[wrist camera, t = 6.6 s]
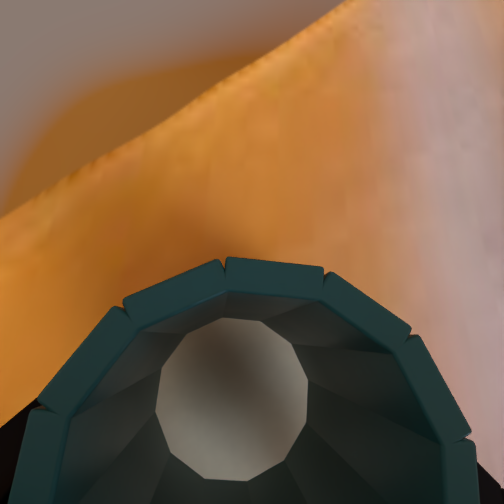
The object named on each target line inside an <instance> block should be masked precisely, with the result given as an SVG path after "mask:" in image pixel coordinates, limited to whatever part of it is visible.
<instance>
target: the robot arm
mask: <svg viewBox="0 0 504 504" xmlns="http://www.w3.org/2000/svg"><path fill="white" fill-rule="evenodd" d="M37 398H38V397H37ZM37 398H36V399H35V400H33V401H32V402H31V403H30V404H29V405H27V406H26V407H25V408H24V409H23V410H21V411H20V412H19V413H18V414H17V415H15V416H14V417H13V418H12V419H11V420H9V421H8V422H7V423H6V424H5V425H3V426H2V427H1V428H0V504H8V500H9V495H10V491H11V487H12V483H13V479H14V475H15V470H16V466H17V462H18V458H19V454H20V449H21V445H22V441H23V437H24V433H25V429H26V424H27V420H28V416H29V413H30V411H31V410H32V409H34V408H37V407H39V406H42V404H40V403H39V402H38V401H37ZM477 470H478V483H479V496H480V504H504V489H503V488H501V486H500V485H499V483H498V482H497V481H496V480H495V479H494V478H493V477H492V476H491V475H490V474H489V473H488V472H487V471H486V470H485V469H484V468H483V467H482V466H481V465H480V464H479V463H478V462H477Z"/></svg>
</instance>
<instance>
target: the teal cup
mask: <svg viewBox="0 0 504 504" xmlns="http://www.w3.org/2000/svg"><path fill="white" fill-rule="evenodd" d="M123 306H124V308H122V307H118V306H113V307H111V309H110V310H109V311H108V312H107V313H106V315H105V316H104V317H103V318H102V319H101V321H100V322H99V323H98V324H97V325H96V327H95V328H94V329H93V330H92V331H91V333H90V334H89V335H88V336H87V338H86V339H85V340H84V341H83V342H82V344H81V345H80V346H79V347H78V348H77V350H76V351H75V352H74V353H73V354H72V356H71V357H70V358H69V359H68V360H67V362H66V363H65V364H64V365H63V366H62V368H61V369H60V370H59V371H58V372H57V374H56V375H55V376H54V377H53V379H52V380H51V381H50V382H49V383H48V385H47V386H46V387H45V388H44V389H43V391H42V392H41V393H40V394H39V396H38V398H37V401H38V402H39V403H40V404H42V406H39V407H37V408H34V409H32V410H31V411H30V413H29V416H28V420H27V424H26V429H25V433H24V437H23V441H22V445H21V449H20V454H19V458H18V462H17V466H16V470H15V475H14V479H13V483H12V487H11V491H10V495H9V500H8V504H480V496H479V483H478V470H477V457H476V446H475V443H474V442H473V441H471V440H469V439H467V438H465V437H466V436H468V435H469V434H471V432H472V431H471V428H470V426H469V425H468V423H467V421H466V419H465V417H464V416H463V414H462V412H461V410H460V408H459V406H458V405H457V403H456V401H455V399H454V397H453V395H452V394H451V392H450V390H449V388H448V386H447V384H446V383H445V381H444V379H443V377H442V375H441V374H440V372H439V370H438V368H437V366H436V364H435V363H434V361H433V359H432V357H431V355H430V353H429V352H428V350H427V348H426V346H425V344H424V342H423V341H422V339H421V337H420V336H419V335H409V334H410V332H411V329H412V328H411V326H410V325H408V324H407V323H405V322H404V321H403V320H401V319H400V318H398V317H397V316H395V315H394V314H393V313H391V312H390V311H388V310H387V309H385V308H384V307H383V306H381V305H380V304H378V303H377V302H375V301H374V300H373V299H371V298H370V297H368V296H367V295H365V294H364V293H363V292H361V291H360V290H358V289H357V288H355V287H354V286H353V285H351V284H350V283H348V282H347V281H345V280H344V279H343V278H341V277H340V276H338V275H337V274H335V273H334V272H331V271H330V272H328V273H327V274H325V275H324V268H323V267H320V266H311V265H302V264H293V263H284V262H275V261H266V260H257V259H247V258H238V257H227V258H226V261H225V270H224V267H223V265H222V263H221V261H220V260H219V259H214V260H212V261H210V262H207V263H205V264H202V265H200V266H198V267H195V268H193V269H191V270H188V271H186V272H184V273H181V274H179V275H176V276H174V277H172V278H169V279H167V280H165V281H162V282H160V283H157V284H155V285H153V286H150V287H148V288H146V289H143V290H141V291H139V292H136V293H134V294H131V295H129V296H127V297H125V298H124V299H123ZM220 318H232V319H242V320H252V321H260V322H262V323H263V324H265V325H266V326H267V327H269V328H270V329H271V330H273V331H274V332H276V333H277V334H278V335H280V336H281V337H282V338H284V339H285V340H287V341H288V342H289V343H291V345H292V347H293V349H294V351H295V354H296V356H297V358H298V360H299V362H300V364H301V366H302V368H303V371H304V373H305V375H306V377H307V379H308V391H307V414H306V423H305V425H304V427H303V428H302V430H301V432H300V433H299V435H298V437H297V439H296V440H295V442H294V444H293V445H292V447H291V449H290V451H289V452H288V454H287V456H286V457H285V459H284V460H283V461H282V462H280V463H278V464H276V465H275V466H273V467H271V468H269V469H268V470H266V471H264V472H262V473H261V474H259V475H257V476H255V477H254V478H252V479H250V480H248V481H236V480H219V479H204V478H203V477H202V476H201V475H199V474H198V473H197V472H195V471H194V470H193V469H191V468H190V467H189V466H188V465H186V464H185V463H184V462H182V461H181V460H180V459H178V458H177V457H176V456H175V455H173V454H172V453H171V452H170V449H169V447H168V444H167V441H166V439H165V436H164V433H163V431H162V428H161V425H160V423H159V420H158V417H157V415H156V412H155V410H156V403H157V397H158V390H159V383H160V377H161V370H162V367H163V365H164V364H165V363H166V361H167V360H168V359H169V357H170V356H171V355H172V353H173V352H174V351H175V349H176V348H177V347H178V345H179V344H180V342H181V341H182V340H183V338H184V337H185V336H186V334H188V333H190V332H192V331H194V330H197V329H199V328H201V327H203V326H205V325H207V324H210V323H212V322H214V321H216V320H218V319H220Z"/></svg>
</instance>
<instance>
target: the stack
mask: <svg viewBox="0 0 504 504" xmlns="http://www.w3.org/2000/svg"><path fill="white" fill-rule="evenodd" d="M307 391H308V379H307V377H306V375H305V373H304V371H303V368H302V366H301V364H300V362H299V360H298V358H297V356H296V354H295V351H294V349H293V347H292V345H291V343H289V342H288V341H287V340H285V339H284V338H282V337H281V336H280V335H278V334H277V333H276V332H274V331H273V330H271V329H270V328H269V327H267V326H266V325H265V324H263V323H262V322H260V321H252V320H242V319H232V318H220V319H218V320H216V321H214V322H212V323H210V324H207V325H205V326H203V327H201V328H199V329H197V330H194V331H192V332H190V333H188V334H186V336H185V337H184V338H183V340H182V341H181V342H180V344H179V345H178V347H177V348H176V349H175V351H174V352H173V353H172V355H171V356H170V357H169V359H168V360H167V361H166V363H165V364H164V365H163V367H162V370H161V377H160V383H159V390H158V397H157V403H156V410H155V412H156V415H157V417H158V420H159V423H160V425H161V428H162V431H163V433H164V436H165V439H166V441H167V444H168V447H169V449H170V452H171V453H172V454H173V455H175V456H176V457H177V458H178V459H180V460H181V461H182V462H184V463H185V464H186V465H188V466H189V467H190V468H191V469H193V470H194V471H195V472H197V473H198V474H199V475H201V476H202V477H203V478H204V479H219V480H236V481H248V480H250V479H252V478H254V477H255V476H257V475H259V474H261V473H262V472H264V471H266V470H268V469H269V468H271V467H273V466H275V465H276V464H278V463H280V462H282V461H283V460H284V459H285V457H286V456H287V454H288V452H289V451H290V449H291V447H292V445H293V444H294V442H295V440H296V439H297V437H298V435H299V433H300V432H301V430H302V428H303V427H304V425H305V423H306V414H307Z"/></svg>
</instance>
